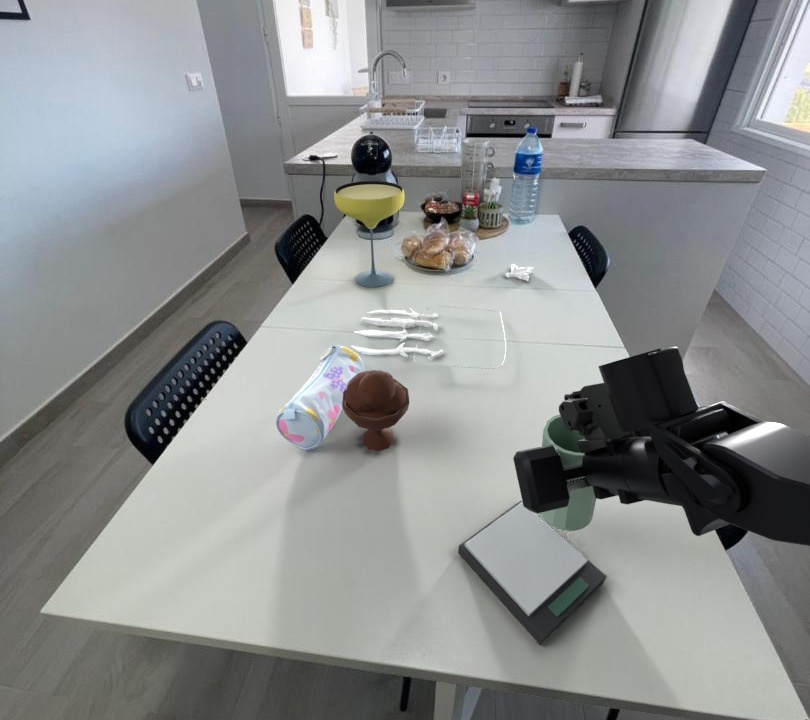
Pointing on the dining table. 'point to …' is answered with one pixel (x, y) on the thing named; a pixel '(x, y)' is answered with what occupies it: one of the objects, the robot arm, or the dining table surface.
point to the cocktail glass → (370, 215)
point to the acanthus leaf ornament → (520, 272)
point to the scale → (531, 570)
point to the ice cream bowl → (375, 406)
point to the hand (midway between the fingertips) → (562, 462)
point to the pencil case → (319, 399)
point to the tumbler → (580, 499)
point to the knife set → (405, 334)
